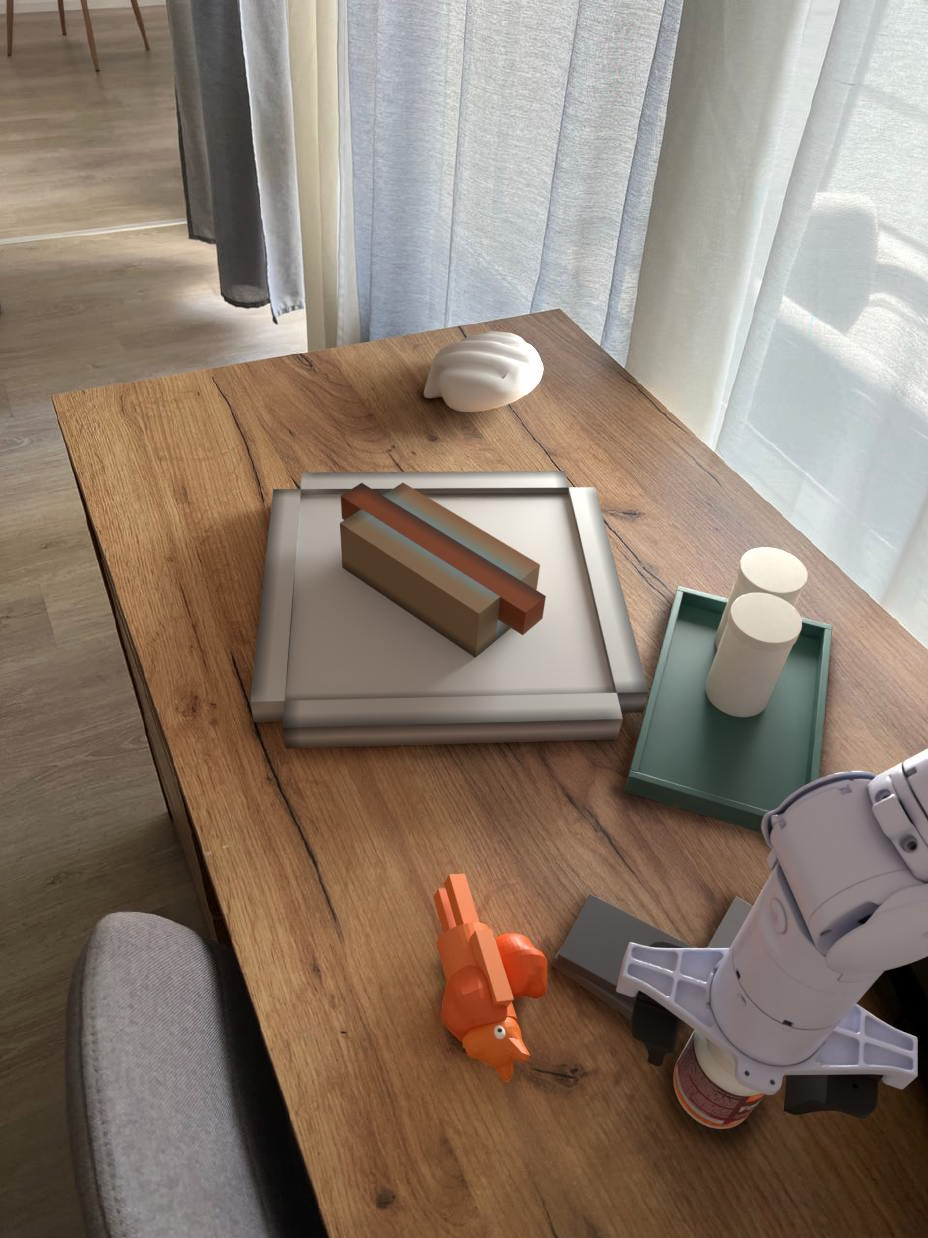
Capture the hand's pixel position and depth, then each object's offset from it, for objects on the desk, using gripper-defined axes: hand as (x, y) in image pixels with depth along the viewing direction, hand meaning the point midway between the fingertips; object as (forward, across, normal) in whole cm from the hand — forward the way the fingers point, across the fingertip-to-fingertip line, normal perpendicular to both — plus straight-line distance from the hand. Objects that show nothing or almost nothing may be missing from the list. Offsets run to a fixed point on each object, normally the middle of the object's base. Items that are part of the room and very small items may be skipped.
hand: (722, 1071), depth 54 cm
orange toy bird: (+3, -14, +1) cm, 15 cm away
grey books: (+3, -2, +7) cm, 8 cm away
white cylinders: (+2, -3, +33) cm, 34 cm away
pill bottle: (+3, 0, 0) cm, 3 cm away
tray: (+3, -3, +29) cm, 29 cm away
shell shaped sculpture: (+3, -35, +64) cm, 73 cm away
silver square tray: (+3, -28, +32) cm, 42 cm away
